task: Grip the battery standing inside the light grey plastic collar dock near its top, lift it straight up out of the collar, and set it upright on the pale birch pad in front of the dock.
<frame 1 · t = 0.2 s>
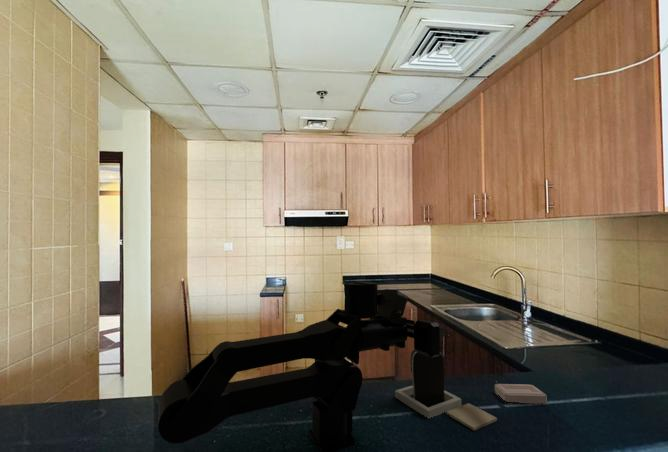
hand: (428, 326, 67), 16 cm above the countertop, tool horizontal, fingers open, 9 cm apart
soap bar: (520, 400, 68), on the countertop
dock: (427, 401, 66), on the countertop
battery: (427, 402, 66), resting in dock
pad: (471, 417, 60), on the countertop
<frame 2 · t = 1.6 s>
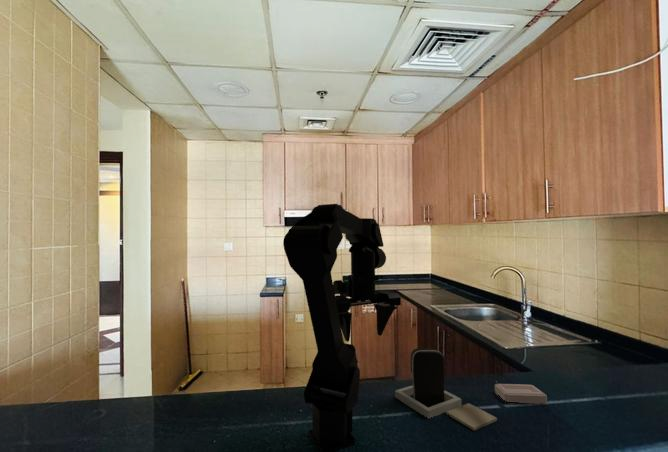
hand: (363, 338, 70), 13 cm above the countertop, tool pointing down, fingers open, 9 cm apart
nothing on the countertop moved.
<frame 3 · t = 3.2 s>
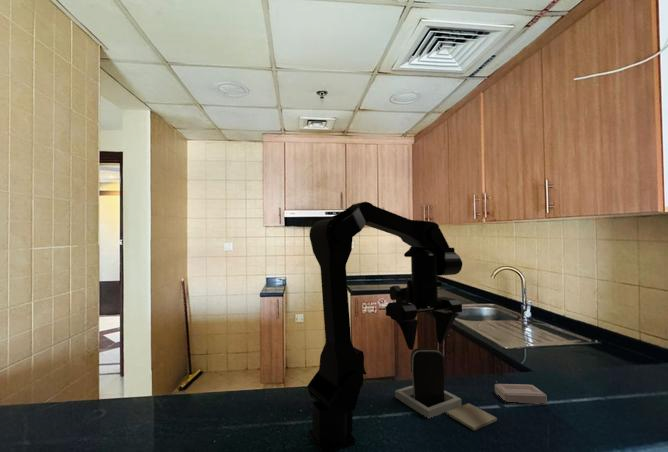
hand: (425, 346, 67), 12 cm above the countertop, tool pointing down, fingers open, 9 cm apart
nothing on the countertop moved.
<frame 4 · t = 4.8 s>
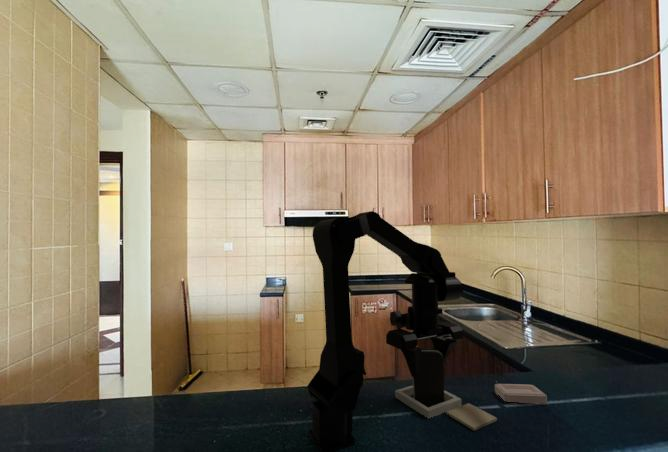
hand: (426, 373, 67), 6 cm above the countertop, tool pointing down, fingers closed on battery, 7 cm apart
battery: (427, 402, 66), resting in dock, touching gripper
everything else where it was.
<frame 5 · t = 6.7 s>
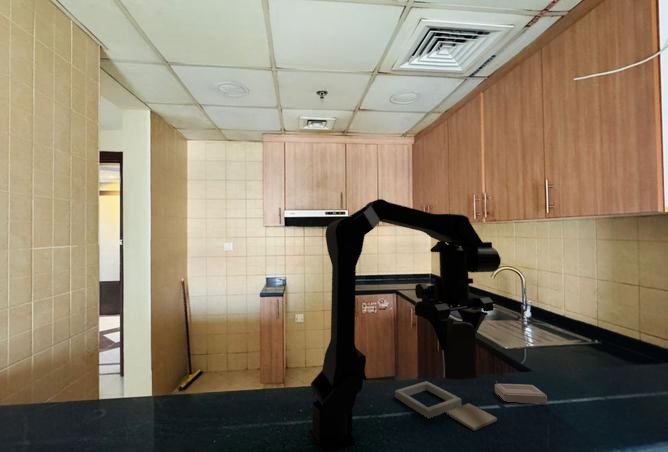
hand: (456, 347, 63), 13 cm above the countertop, tool pointing down, fingers closed on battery, 7 cm apart
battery: (458, 377, 63), point 7 cm above the countertop, touching gripper
everything else where it was.
when the fingers open (8 cm above the countertop, at t = 8.8 s): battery drops 1 cm, resting on pad.
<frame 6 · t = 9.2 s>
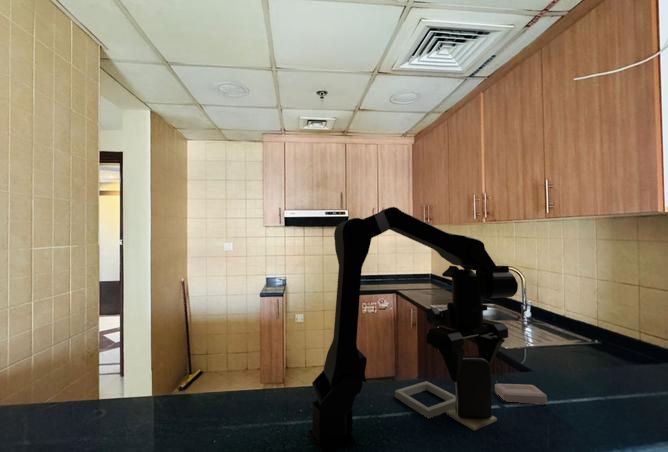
hand: (469, 376, 61), 8 cm above the countertop, tool pointing down, fingers open, 9 cm apart
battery: (471, 414, 60), resting on pad
everything else where it was.
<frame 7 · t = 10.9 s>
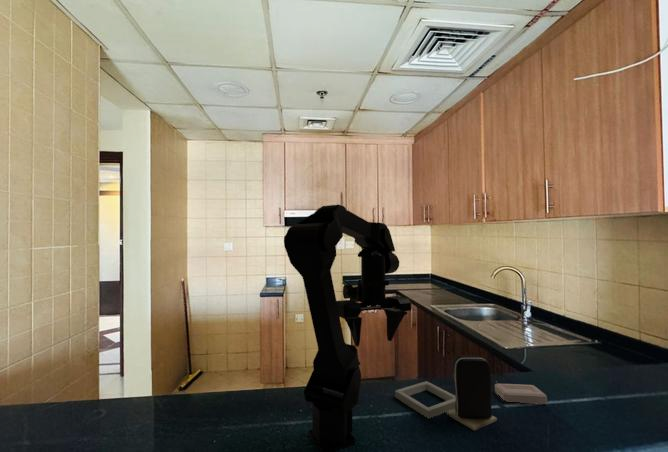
hand: (373, 343, 69), 12 cm above the countertop, tool pointing down, fingers open, 9 cm apart
nothing on the countertop moved.
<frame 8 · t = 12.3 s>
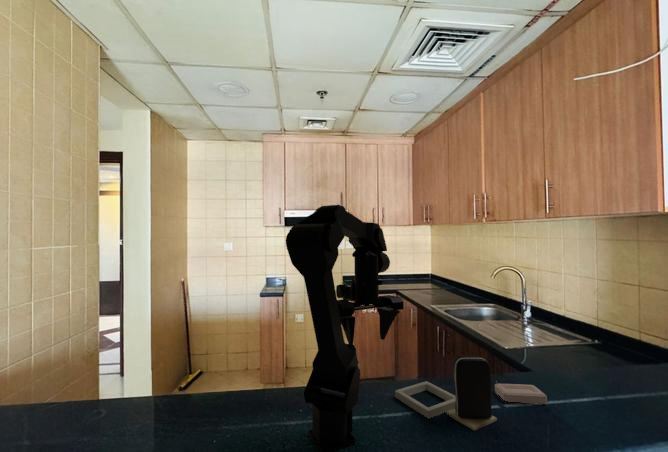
hand: (366, 342, 70), 12 cm above the countertop, tool pointing down, fingers open, 9 cm apart
nothing on the countertop moved.
at the end: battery 0.3 cm off-centre on the pad, point 0.3 cm above the pad's base; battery tilted 0°; the gripper is holding nothing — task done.
